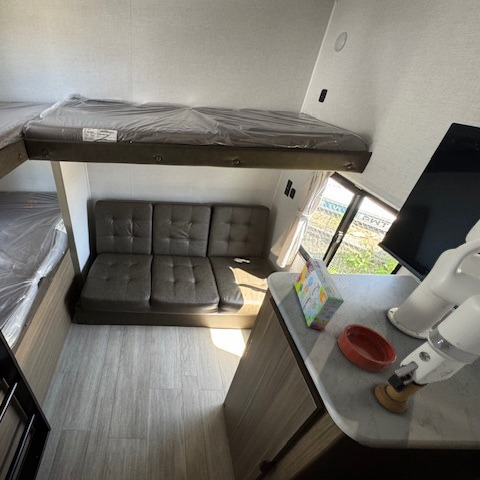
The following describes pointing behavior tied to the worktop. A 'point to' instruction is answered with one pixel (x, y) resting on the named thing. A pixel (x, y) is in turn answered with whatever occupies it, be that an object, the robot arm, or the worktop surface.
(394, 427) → the worktop surface
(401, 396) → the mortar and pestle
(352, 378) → the worktop surface
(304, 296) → the snack box
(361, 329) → the bowl
